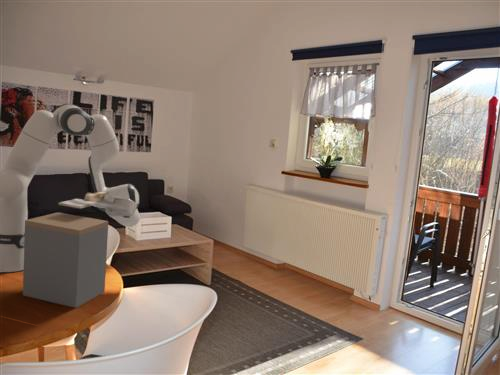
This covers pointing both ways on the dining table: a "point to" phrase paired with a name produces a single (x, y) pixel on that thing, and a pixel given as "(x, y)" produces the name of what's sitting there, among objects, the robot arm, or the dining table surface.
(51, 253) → the grey box
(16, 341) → the dining table surface
